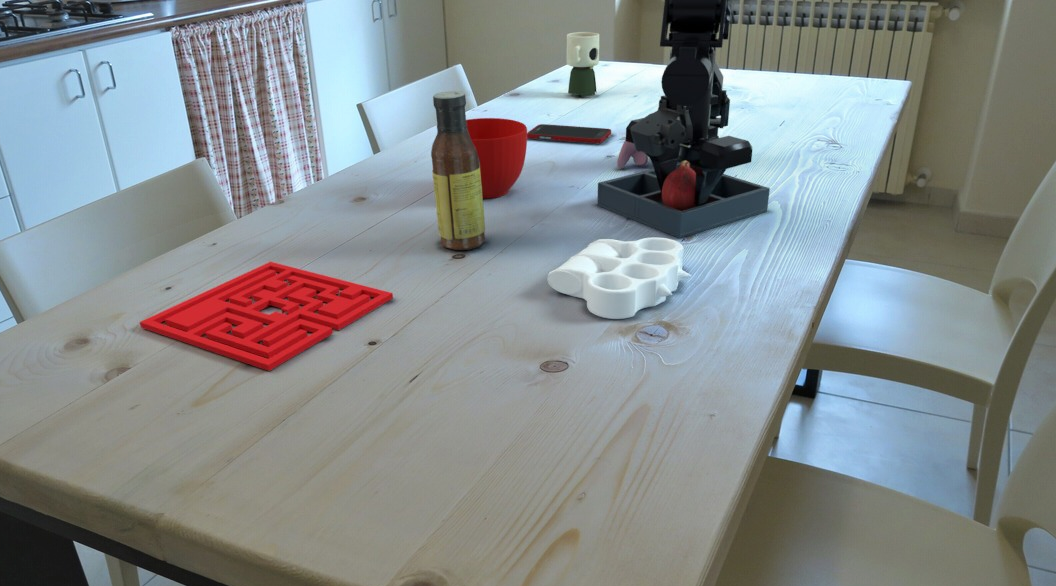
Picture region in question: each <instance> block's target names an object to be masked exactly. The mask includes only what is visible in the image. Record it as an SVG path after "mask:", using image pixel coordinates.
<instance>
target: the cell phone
mask: <svg viewBox="0 0 1056 586" xmlns="http://www.w3.org/2000/svg"><path fill="white" fill-rule="evenodd" d="M611 135H612V129H610V128H604V127H603V128H602V127H588V126H577V125H576V126H574V125H560V124H547V123H546V124H545V123H541V124H537V125H536V126H535V127H533V128H532V129H530V130H529V131H527V139H533V140H534V139H535V140H545V141H546V140H547V141H558V142H570V143H582V144H583V143H585V144H599V145H600V144H602V143H604V142H605V141H606V139H609V137H610V136H611Z"/></svg>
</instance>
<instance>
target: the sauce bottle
mask: <svg viewBox="0 0 1056 586" xmlns="http://www.w3.org/2000/svg"><path fill="white" fill-rule="evenodd" d="M466 99H467V98H466V94H465V92H463V91H459V90H458V91H457V90H450V91H449V90H448V91H441V92H437V93H434V95H433V97H432V102H433V107H434V109H435V115H436V131H437V132H436V135H435V137H434V140H433V142H432V145H431V151H430V157H431V164H432V171H431V173H432V180H433V190H434V199H435V208H436V218H437V227H438V235H439V236H440V242H441V245H442V247H443V248H445V249H450V250H454V251H467V250H468V251H470V250H473V249H476V248H479V247H480V246H482V245H483V244H484V243H485V241H486V236H485V235H486V234H485V230H486V222H485V210H484V200H483V199H484V198H483V197H482V185H481V174H480V163H479V158H478V154H477V151H476V148H475V146H474V144H473V143H472V140H471V138H470V135H469V132H468V129H467V123H466V120H467V115H466V105H467V100H466Z"/></svg>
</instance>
